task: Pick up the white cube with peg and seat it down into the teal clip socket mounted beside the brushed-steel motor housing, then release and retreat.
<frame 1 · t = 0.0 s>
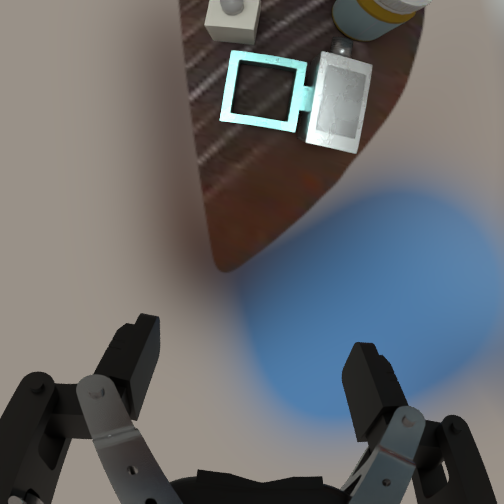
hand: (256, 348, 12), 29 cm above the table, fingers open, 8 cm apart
bottle: (356, 19, 29), on the table
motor: (263, 92, 34), on the table
white cube with peg: (237, 25, 30), on the table
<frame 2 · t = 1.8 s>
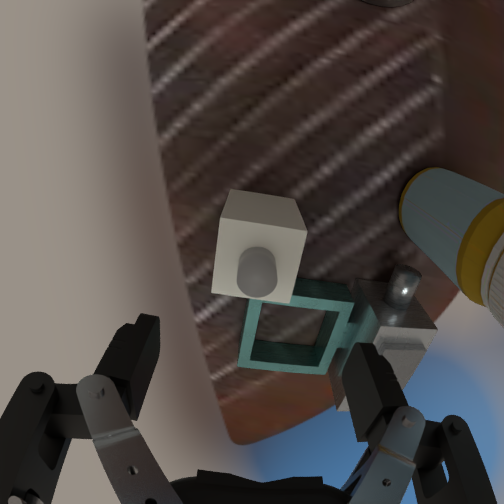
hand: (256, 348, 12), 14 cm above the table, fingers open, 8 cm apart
bottle: (428, 204, 24), on the table
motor: (290, 317, 29), on the table
white cube with peg: (257, 223, 25), on the table
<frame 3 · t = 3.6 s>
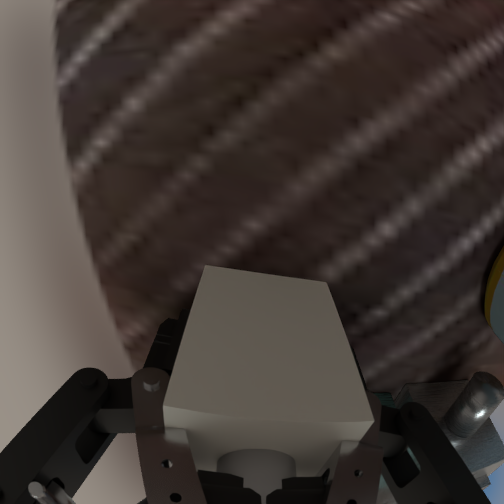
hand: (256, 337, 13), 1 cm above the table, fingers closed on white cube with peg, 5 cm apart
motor: (303, 433, 17), on the table
white cube with peg: (256, 323, 14), on the table, touching gripper
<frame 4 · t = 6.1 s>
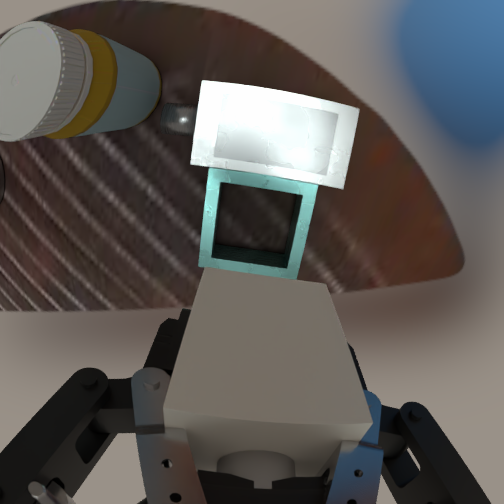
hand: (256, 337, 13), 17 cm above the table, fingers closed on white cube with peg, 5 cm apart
bottle: (127, 91, 23), on the table
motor: (255, 215, 28), on the table
white cube with peg: (256, 324, 14), point 16 cm above the table, touching gripper
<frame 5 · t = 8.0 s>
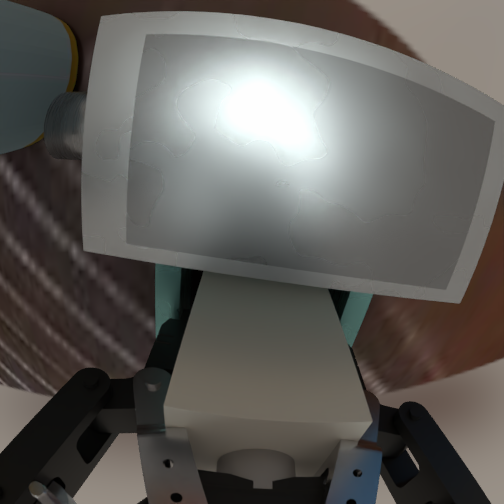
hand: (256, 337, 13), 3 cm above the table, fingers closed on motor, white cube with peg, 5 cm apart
bottle: (33, 80, 11), on the table
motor: (256, 300, 15), on the table
white cube with peg: (256, 323, 14), point 2 cm above the table, touching gripper
when the fingers open (3 cm above the table, at t = 9.0 s): white cube with peg drops 2 cm, resting in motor.
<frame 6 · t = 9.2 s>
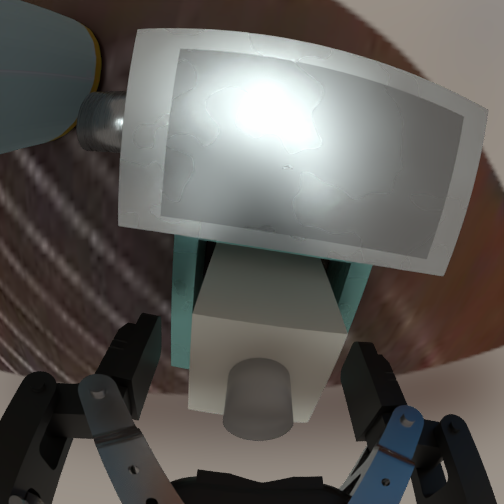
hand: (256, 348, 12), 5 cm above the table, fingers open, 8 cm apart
bottle: (56, 80, 13), on the table
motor: (263, 283, 17), on the table
white cube with peg: (260, 283, 17), resting in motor
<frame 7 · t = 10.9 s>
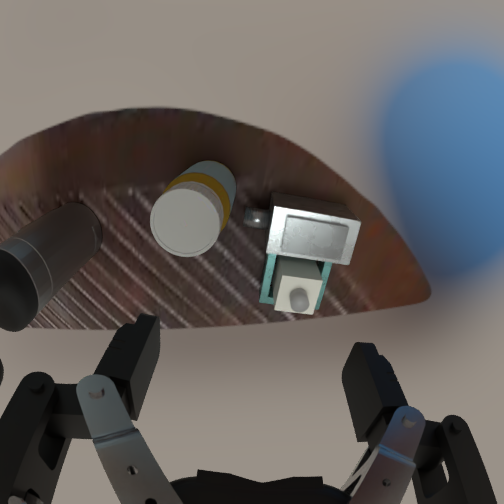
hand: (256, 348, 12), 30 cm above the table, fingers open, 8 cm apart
bottle: (209, 185, 40), on the table
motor: (293, 269, 44), on the table
white cube with peg: (292, 269, 44), resting in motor
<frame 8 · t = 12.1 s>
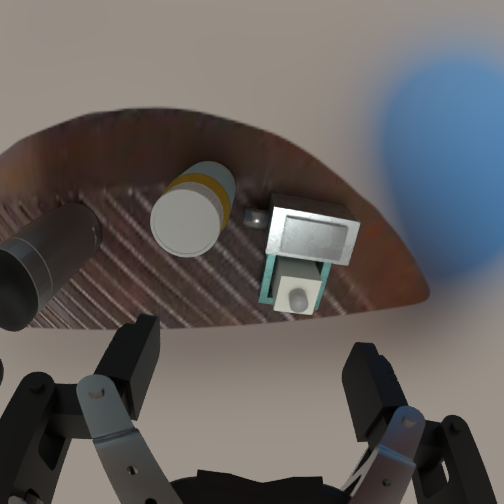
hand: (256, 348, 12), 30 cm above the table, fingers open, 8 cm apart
bottle: (209, 186, 40), on the table
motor: (292, 269, 44), on the table
white cube with peg: (291, 270, 44), resting in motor
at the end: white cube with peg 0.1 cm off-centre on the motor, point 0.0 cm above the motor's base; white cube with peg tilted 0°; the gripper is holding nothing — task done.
